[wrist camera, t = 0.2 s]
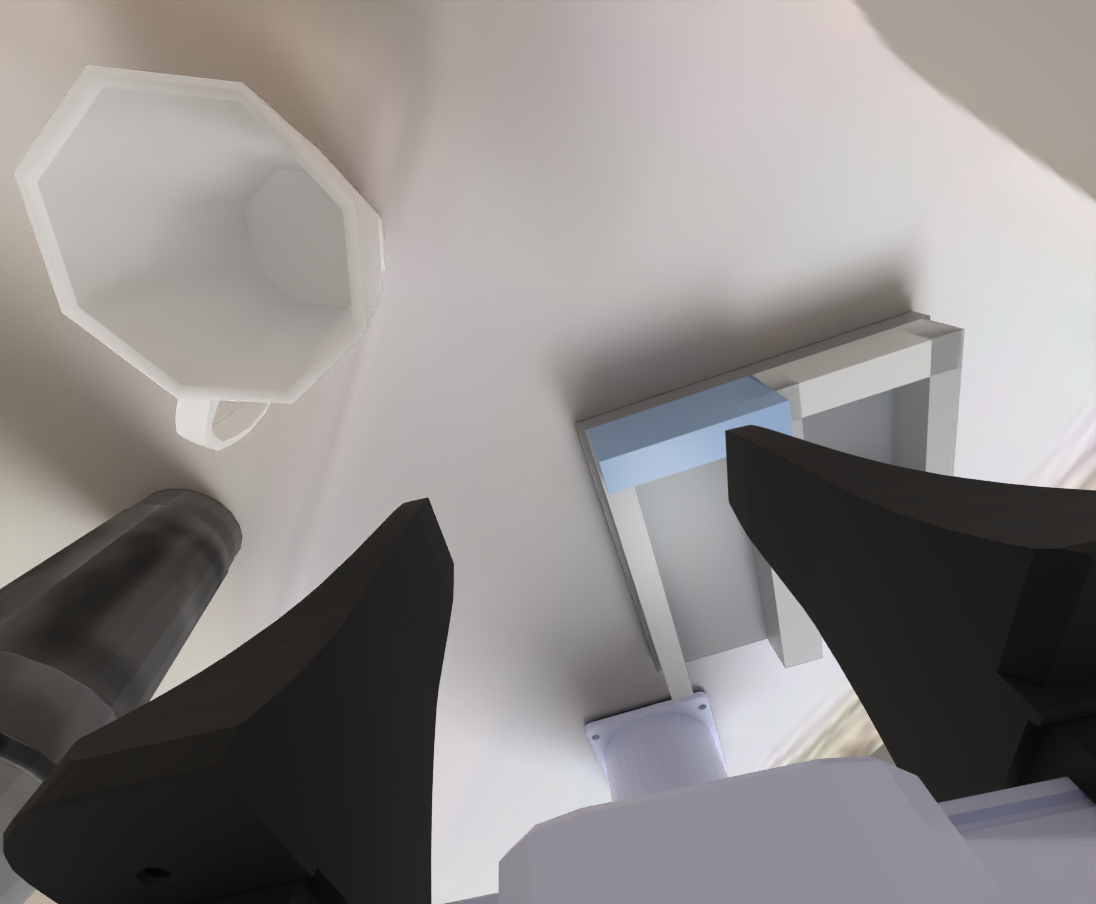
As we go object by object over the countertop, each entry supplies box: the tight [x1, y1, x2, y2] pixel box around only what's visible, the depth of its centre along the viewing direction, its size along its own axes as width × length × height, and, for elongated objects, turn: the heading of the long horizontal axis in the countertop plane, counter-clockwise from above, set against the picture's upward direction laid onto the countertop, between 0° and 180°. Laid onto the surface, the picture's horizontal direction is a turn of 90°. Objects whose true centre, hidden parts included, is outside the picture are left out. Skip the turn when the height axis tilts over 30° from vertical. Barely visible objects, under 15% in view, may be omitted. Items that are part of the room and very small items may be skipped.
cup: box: [13, 65, 386, 451], centre depth 14 cm, size 7×10×8 cm
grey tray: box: [575, 311, 965, 701], centre depth 23 cm, size 16×15×4 cm
